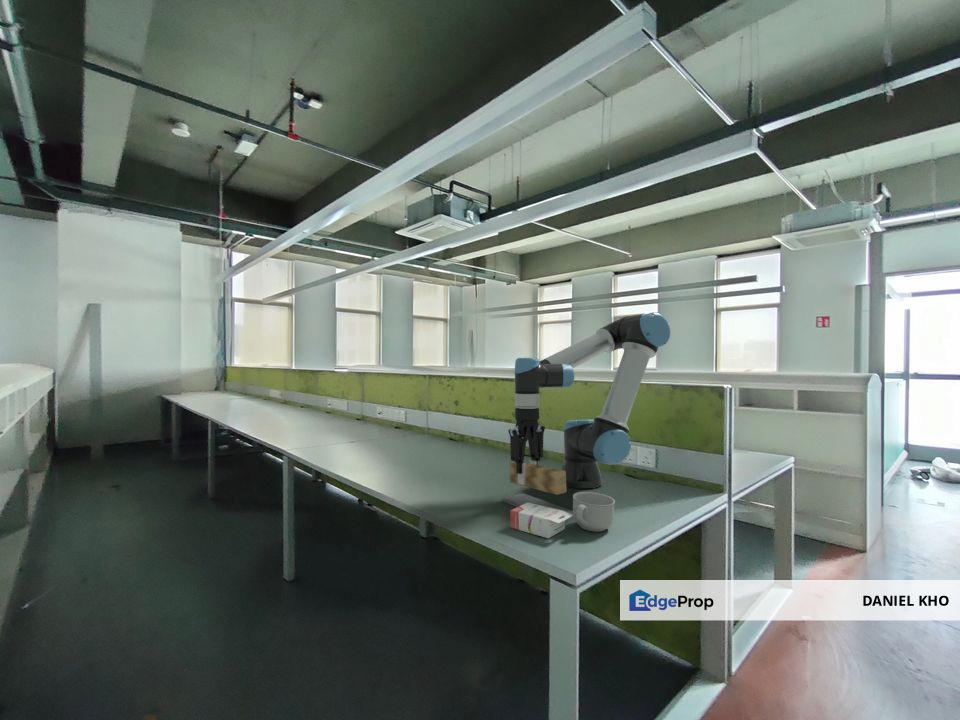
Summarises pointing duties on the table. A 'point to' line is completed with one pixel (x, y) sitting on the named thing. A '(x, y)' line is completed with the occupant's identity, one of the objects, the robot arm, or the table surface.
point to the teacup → (593, 510)
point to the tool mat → (524, 498)
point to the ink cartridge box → (538, 519)
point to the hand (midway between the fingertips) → (527, 482)
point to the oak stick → (541, 478)
